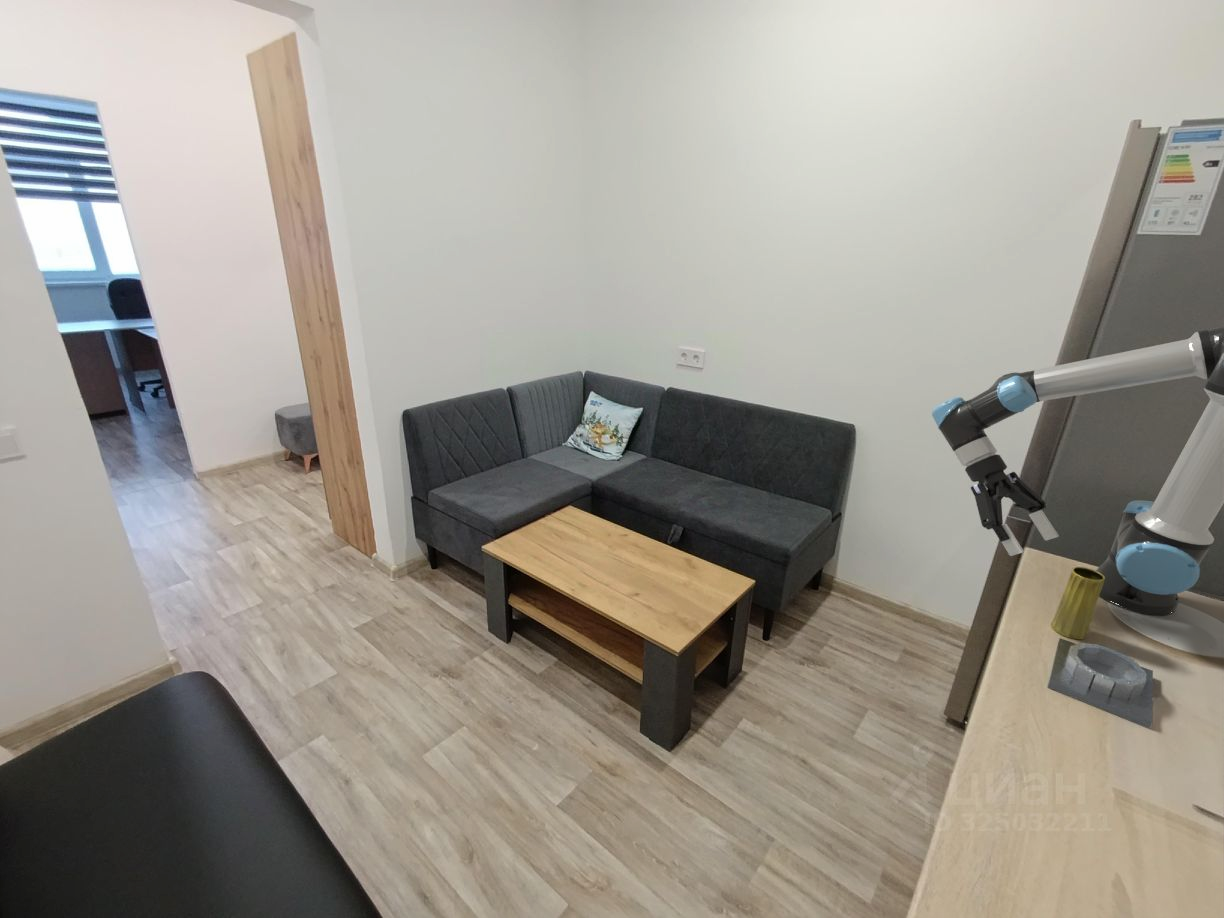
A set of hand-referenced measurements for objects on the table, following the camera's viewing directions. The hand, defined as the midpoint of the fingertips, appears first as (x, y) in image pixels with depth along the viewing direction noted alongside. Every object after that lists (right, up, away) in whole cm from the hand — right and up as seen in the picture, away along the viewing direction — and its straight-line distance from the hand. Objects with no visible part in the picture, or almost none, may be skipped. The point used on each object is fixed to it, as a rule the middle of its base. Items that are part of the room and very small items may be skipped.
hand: (1035, 546), depth 119 cm
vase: (+5, -18, -3) cm, 19 cm away
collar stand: (-1, -23, -16) cm, 28 cm away
